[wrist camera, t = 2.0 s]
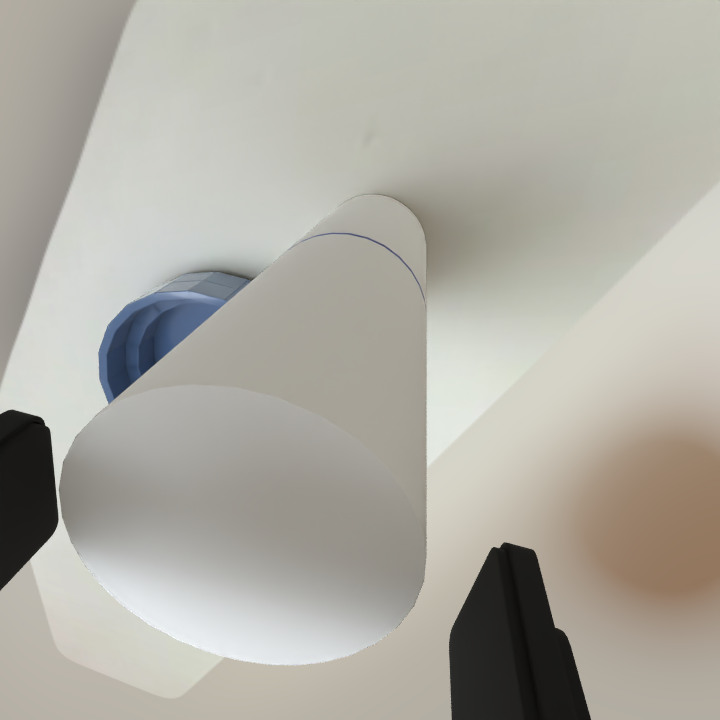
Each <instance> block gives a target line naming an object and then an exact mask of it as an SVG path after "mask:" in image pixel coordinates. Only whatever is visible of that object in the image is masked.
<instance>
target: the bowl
mask: <svg viewBox="0 0 720 720" xmlns="http://www.w3.org/2000/svg"><path fill="white" fill-rule="evenodd" d="M250 282H251V281H250V280H248V279H244V278H240V277H236V276H232V275H228V274H225V273H221V272H202V273H187V274H184V275H182V276H180V277H177V278H175V279H173V280H171V281H168V282H166V283H164V284H162V285H160V286H158V287H156V288H155V289H153V290H151V291H150V292H148V293H146V294H144V295H143V296H141V297H139V298H138V299H136V300H134V301H133V302H131V303H129V304H128V305H126V306H125V307H124V308H123V310H122V311H121V312H120V313H119V314H118V315H117V316H116V317H115V318H114V319H113V320H112V321H111V322H110V323H109V325H108V326H107V329H106V332H105V335H104V338H103V341H102V343H101V346H100V349H99V377H100V382H101V385H102V387H103V390H104V393H105V395H106V398H107V401H108V403H109V404H110V403H111V402H112V401H113V400H114V399H115V398H117V397H118V396H119V395H120V394H121V393H122V392H124V391H125V390H126V389H127V388H128V387H129V386H131V385H132V384H133V383H134V382H135V381H136V380H138V379H139V378H140V377H141V376H142V375H143V374H144V373H146V372H147V371H148V370H149V369H150V368H151V367H153V366H154V365H155V364H156V363H157V362H158V361H160V360H161V359H162V358H163V357H164V356H165V355H166V354H168V353H169V352H170V351H171V350H172V349H173V348H175V347H176V346H177V345H178V344H179V343H180V342H182V341H183V340H184V339H185V338H186V337H187V336H189V335H190V334H191V333H192V332H193V331H194V330H195V329H197V328H198V327H199V326H200V325H201V324H202V323H204V322H205V321H206V320H207V319H208V318H209V317H211V316H212V315H213V314H214V313H215V312H216V311H218V310H219V309H220V308H221V307H222V306H223V305H224V304H226V303H227V302H228V301H229V300H230V299H231V298H233V297H234V296H235V295H236V294H237V293H238V292H240V291H241V290H242V289H243V288H244V287H245V286H247V285H248V284H249V283H250Z"/></svg>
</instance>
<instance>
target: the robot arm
mask: <svg viewBox="0 0 720 720" xmlns="http://www.w3.org/2000/svg"><path fill="white" fill-rule="evenodd" d="M57 525H58V508H57V497H56V487H55V476H54V465H53V455H52V444H51V434H50V429H49V428H48V427H47V426H45V423H44V420H43V419H42V418H41V417H38V416H34V415H30V414H27V413H23V412H19V411H16V410H8V411H6V412H4V413H2V414H0V590H1V589H2V588H3V587H4V586H5V585H6V584H7V583H8V582H9V581H10V580H11V579H12V578H13V577H14V575H15V574H16V573H17V572H18V571H19V570H20V569H21V568H22V567H23V566H24V565H25V564H26V563H27V562H28V561H29V560H30V559H31V557H32V556H33V555H34V554H35V553H36V552H37V551H38V550H39V549H40V548H41V547H42V546H43V545H44V544H45V543H46V542H47V541H48V539H49V538H50V537H51V536H52V535H53V533H54V532H55V530H56V527H57ZM449 656H450V679H451V680H450V683H451V709H452V720H591V718H590V714H589V711H588V707H587V704H586V700H585V696H584V693H583V689H582V686H581V682H580V678H579V674H578V671H577V667H576V664H575V660H574V656H573V653H572V649H571V646H570V643H569V640H568V638H567V636H566V635H565V633H564V632H563V631H562V630H560V629H558V628H555V626H554V622H553V618H552V614H551V610H550V606H549V602H548V599H547V595H546V591H545V587H544V583H543V579H542V575H541V571H540V567H539V563H538V559H537V556H536V553H535V552H534V550H532V549H528V548H524V547H521V546H517V545H513V544H510V543H503V544H502V545H501V547H500V548H496V547H493V548H492V549H491V551H490V552H489V554H488V556H487V559H486V560H485V562H484V564H483V566H482V569H481V570H480V572H479V574H478V577H477V579H476V581H475V583H474V585H473V587H472V589H471V591H470V593H469V595H468V597H467V599H466V601H465V603H464V605H463V607H462V609H461V611H460V613H459V615H458V617H457V619H456V621H455V623H454V625H453V627H452V630H451V634H450V642H449Z"/></svg>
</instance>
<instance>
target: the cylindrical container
mask: <svg viewBox="0 0 720 720" xmlns="http://www.w3.org/2000/svg"><path fill="white" fill-rule="evenodd" d="M426 259H427V247H426V239H425V235H424V232H423V229H422V226H421V225H420V223H419V221H418V219H417V217H416V216H415V215H414V214H413V213H412V212H411V210H410V209H409V208H407V207H406V206H405V205H403V204H402V203H401V202H399V201H397V200H395V199H393V198H390V197H387V196H383V195H375V194H367V195H361V196H357V197H354V198H352V199H349V200H347V201H346V202H344V203H343V204H341V205H339V206H338V207H337V208H336V209H335V210H334V211H332V212H331V213H330V214H329V215H328V216H327V217H325V218H324V219H323V220H322V221H321V222H320V223H318V224H317V225H316V226H315V227H314V228H313V229H312V230H310V231H309V232H308V233H307V234H306V235H305V236H303V237H302V238H301V239H300V240H299V241H298V242H296V243H295V244H294V245H293V246H292V247H291V248H290V249H288V250H287V251H286V252H285V253H284V254H283V255H281V256H280V257H279V258H278V259H277V260H276V261H274V262H273V263H272V264H271V265H270V266H269V267H267V268H266V269H265V270H264V271H263V272H262V273H260V274H259V275H258V276H257V277H256V278H255V279H254V280H252V281H251V282H250V283H249V284H248V285H247V286H245V287H244V288H243V289H242V290H241V291H240V292H238V293H237V294H236V295H235V296H234V297H233V298H231V299H230V300H229V301H228V302H227V303H226V304H224V305H223V306H222V307H221V308H220V309H219V310H218V311H216V312H215V313H214V314H213V315H212V316H211V317H209V318H208V319H207V320H206V321H205V322H204V323H202V324H201V325H200V326H199V327H198V328H197V329H195V330H194V331H193V332H192V333H191V334H190V335H189V336H187V337H186V338H185V339H184V340H183V341H182V342H180V343H179V344H178V345H177V346H176V347H175V348H173V349H172V350H171V351H170V352H169V353H168V354H166V355H165V356H164V357H163V358H162V359H161V360H160V361H158V362H157V363H156V364H155V365H154V366H153V367H151V368H150V369H149V370H148V371H147V372H146V373H144V374H143V375H142V376H141V377H140V378H139V379H138V380H136V381H135V382H134V383H133V384H132V385H131V386H129V387H128V388H127V389H126V390H125V391H124V392H122V393H121V394H120V395H119V396H118V397H117V398H115V399H114V400H113V401H112V402H111V403H110V404H109V405H107V406H106V407H105V408H104V409H103V410H102V411H100V412H99V413H98V414H97V415H96V416H95V417H94V418H93V419H92V420H91V421H90V422H89V423H88V424H87V425H86V426H85V427H84V428H83V429H82V431H81V432H80V433H79V434H78V435H77V436H76V437H75V439H74V441H73V443H72V445H71V447H70V449H69V451H68V453H67V455H66V457H65V459H64V461H63V466H62V473H61V479H60V485H59V495H60V503H61V511H62V518H63V520H64V523H65V526H66V529H67V532H68V534H69V537H70V540H71V543H72V544H73V546H74V548H75V549H76V551H77V553H78V554H79V556H80V558H81V560H82V561H83V563H84V565H85V566H86V567H87V569H88V570H89V571H90V572H91V573H92V575H93V576H94V577H95V578H96V580H97V581H98V582H99V583H100V584H101V586H102V587H103V588H104V589H105V590H106V591H108V592H109V593H110V594H111V595H112V596H113V597H114V598H115V599H116V600H117V601H118V602H119V603H121V604H122V605H123V606H124V607H125V608H126V609H128V610H129V611H131V612H132V613H133V614H135V615H136V616H138V617H139V618H140V619H142V620H143V621H145V622H146V623H148V624H149V625H150V626H152V627H154V628H156V629H158V630H160V631H162V632H163V633H165V634H167V635H169V636H171V637H173V638H175V639H177V640H178V641H181V642H183V643H186V644H188V645H191V646H194V647H196V648H199V649H201V650H204V651H206V652H209V653H212V654H216V655H220V656H224V657H228V658H232V659H236V660H240V661H246V662H254V663H262V664H268V665H304V664H312V663H321V662H327V661H331V660H335V659H338V658H342V657H346V656H350V655H352V654H355V653H357V652H359V651H361V650H363V649H365V648H367V647H369V646H372V645H374V644H376V643H377V642H379V641H380V640H381V639H383V638H384V637H385V636H386V635H388V634H389V633H390V632H392V631H393V630H394V629H396V628H397V627H398V626H399V625H400V624H401V622H402V621H403V620H404V618H405V617H406V615H407V614H408V613H409V612H410V611H411V609H412V608H413V607H414V605H415V603H416V600H417V598H418V595H419V592H420V590H421V587H422V585H423V582H424V575H425V564H426Z"/></svg>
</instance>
